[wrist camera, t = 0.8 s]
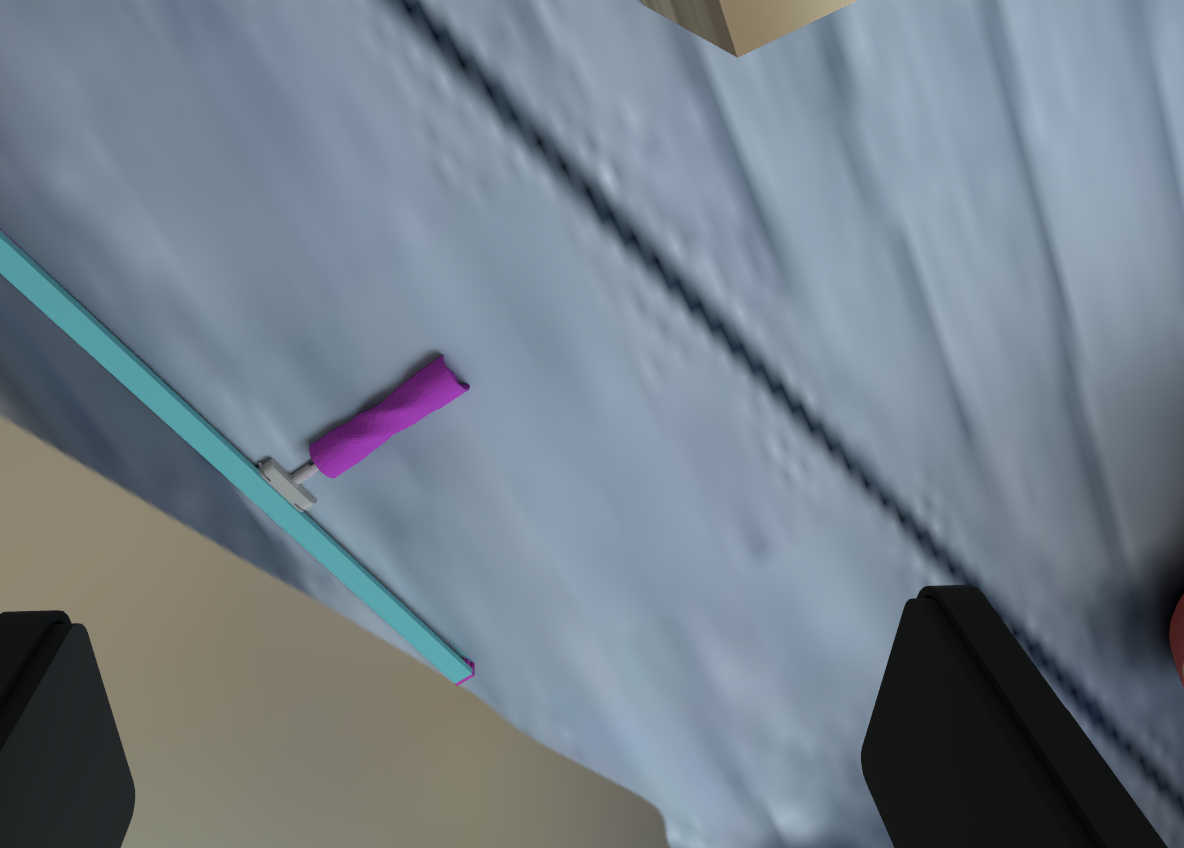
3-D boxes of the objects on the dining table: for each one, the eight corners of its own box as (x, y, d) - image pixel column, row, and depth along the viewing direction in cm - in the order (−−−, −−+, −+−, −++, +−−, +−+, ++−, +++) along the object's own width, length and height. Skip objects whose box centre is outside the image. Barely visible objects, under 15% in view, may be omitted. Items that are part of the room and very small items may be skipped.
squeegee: (634, 588, 40) (456, 690, 42) (629, 564, 41) (458, 664, 44) (130, 7, 27) (-92, 196, 29) (149, 2, 28) (-63, 183, 30)
